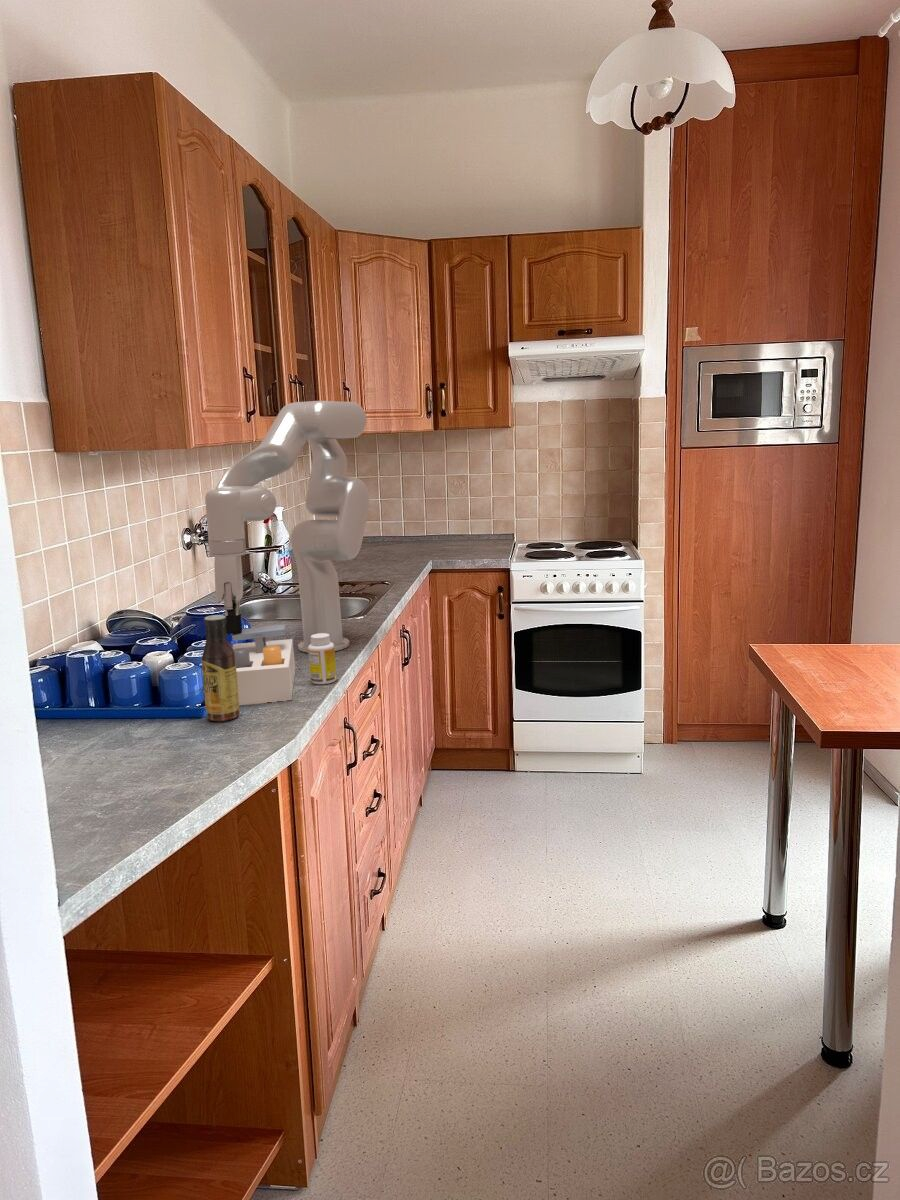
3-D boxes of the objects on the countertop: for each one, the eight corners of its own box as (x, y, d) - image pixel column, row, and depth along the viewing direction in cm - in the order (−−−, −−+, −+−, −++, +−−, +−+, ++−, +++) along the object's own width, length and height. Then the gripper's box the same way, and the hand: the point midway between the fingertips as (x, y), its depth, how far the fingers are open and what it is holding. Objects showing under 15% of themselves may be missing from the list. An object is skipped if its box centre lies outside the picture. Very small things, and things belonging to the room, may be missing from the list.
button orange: (266, 681, 183) (263, 646, 182) (284, 680, 184) (281, 645, 182) (265, 686, 180) (262, 650, 178) (283, 684, 180) (280, 649, 179)
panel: (236, 673, 200) (232, 628, 198) (295, 668, 201) (291, 624, 199) (225, 706, 176) (220, 655, 174) (291, 700, 178) (286, 650, 176)
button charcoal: (235, 684, 183) (231, 649, 181) (252, 682, 183) (249, 647, 182) (233, 689, 179) (229, 653, 178) (251, 687, 180) (247, 652, 178)
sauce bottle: (201, 718, 170) (190, 617, 166) (231, 710, 174) (220, 611, 170) (216, 725, 165) (205, 622, 161) (247, 717, 169) (236, 615, 165)
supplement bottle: (337, 676, 193) (333, 631, 191) (336, 684, 188) (332, 637, 186) (311, 678, 193) (307, 633, 191) (310, 686, 187) (306, 639, 185)
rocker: (235, 640, 194) (234, 630, 193) (286, 634, 195) (285, 624, 195) (233, 646, 188) (231, 635, 188) (285, 640, 190) (284, 629, 189)
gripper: (213, 545, 194) (220, 627, 197) (204, 553, 179) (211, 641, 182) (248, 543, 195) (255, 625, 198) (242, 551, 180) (249, 639, 183)
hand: (234, 632), depth 190 cm, fingers closed
